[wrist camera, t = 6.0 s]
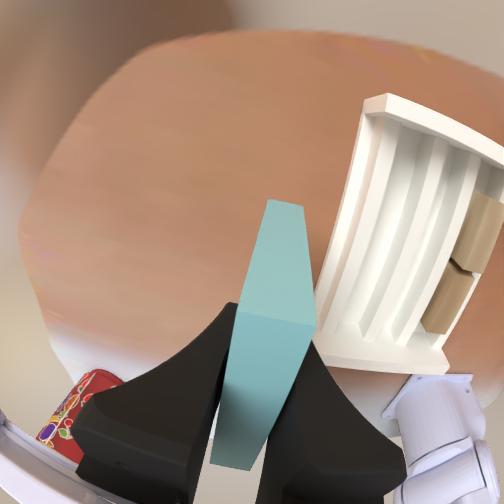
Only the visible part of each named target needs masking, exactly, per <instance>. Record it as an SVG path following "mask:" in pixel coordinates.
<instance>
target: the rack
mask: <svg viewBox="0 0 504 504" xmlns="http://www.w3.org/2000/svg"><path fill="white" fill-rule="evenodd" d="M473 189H476V190H478V191H480V192H482V193H484V194H486V195H488V196H490V197H492V198H494V199H496V200H498V201H500V202H501V203H503V204H504V148H503V147H502V146H500V145H499V144H497V143H495V142H494V141H492V140H490V139H488V138H487V137H485V136H483V135H481V134H480V133H478V132H476V131H474V130H472V129H470V128H468V127H466V126H465V125H463V124H461V123H459V122H457V121H455V120H453V119H450V118H448V117H446V116H444V115H442V114H440V113H438V112H435V111H433V110H431V109H428V108H426V107H424V106H421V105H419V104H417V103H414V102H412V101H409V100H406V99H404V98H401V97H398V96H396V95H393V94H390V93H386V94H382V95H379V96H375V97H372V98H368V99H365V100H364V102H363V107H362V113H361V118H360V122H359V127H358V132H357V137H356V141H355V146H354V150H353V154H352V159H351V163H350V167H349V171H348V175H347V179H346V183H345V187H344V191H343V195H342V199H341V203H340V207H339V210H338V214H337V218H336V221H335V225H334V228H333V232H332V236H331V239H330V242H329V246H328V249H327V253H326V256H325V259H324V263H323V266H322V269H321V272H320V275H319V279H318V282H317V285H316V288H315V291H314V302H315V313H316V324H317V327H316V329H315V332H314V334H313V337H312V341H313V343H314V345H315V347H316V349H317V351H318V353H319V355H320V357H321V359H322V361H323V363H324V364H325V366H333V367H341V368H349V369H358V370H368V371H378V372H390V373H405V374H424V375H444V374H445V373H446V371H447V370H448V369H449V367H450V366H449V363H448V361H447V359H446V357H445V355H444V353H443V351H442V349H441V347H442V346H443V344H444V342H445V341H446V339H447V338H448V336H449V334H450V333H451V331H452V329H453V328H454V326H455V324H456V322H457V321H458V319H459V317H460V315H461V314H462V312H463V310H464V308H465V306H466V304H467V302H468V300H469V299H470V297H471V295H472V293H473V291H474V289H475V287H476V284H477V282H478V280H479V278H480V276H481V274H479V273H475V272H471V271H469V272H470V273H471V274H472V275H473V277H474V278H475V280H474V282H473V284H472V287H471V289H470V291H469V293H468V295H467V297H466V299H465V301H464V302H463V304H462V306H461V308H460V310H459V312H458V314H457V315H456V317H455V319H454V321H453V323H452V324H451V326H450V328H449V329H448V331H447V333H446V334H445V335H443V334H434V333H426V331H425V329H424V327H423V325H422V323H421V322H420V319H421V317H422V315H423V313H424V311H425V309H426V307H427V305H428V303H429V301H430V299H431V297H432V295H433V293H434V291H435V289H436V287H437V285H438V283H439V280H440V278H441V276H442V274H443V272H444V269H445V267H446V265H447V262H448V260H449V258H452V257H451V256H450V255H451V253H452V250H453V248H454V245H455V242H456V240H457V237H458V235H459V232H460V229H461V226H462V223H463V221H464V218H465V215H466V212H467V209H468V205H469V202H470V199H471V196H472V192H473Z"/></svg>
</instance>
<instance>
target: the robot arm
mask: <svg viewBox="0 0 504 504" xmlns="http://www.w3.org/2000/svg"><path fill="white" fill-rule="evenodd" d="M237 308H238V304H236V303H232V302H229V303H227V304H226V305H225V307H224V308H223V310H222V311H221V312H220V313H219V315H218V316H217V317H216V318H215V319H214V320H213V322H212V323H211V324H210V325H209V326H208V327H207V328H206V329H205V330H204V331H203V332H202V333H201V334H200V335H199V336H197V337H196V338H195V339H194V340H193V341H192V342H191V343H190V344H188V345H187V346H186V347H185V348H183V349H182V350H181V351H180V352H178V353H177V354H176V355H174V356H173V357H171V358H170V359H168V360H167V361H165V362H164V363H162V364H160V365H159V366H157V367H156V368H154V369H152V370H150V371H148V372H147V373H145V374H143V375H140V376H138V377H136V378H134V379H132V380H130V381H128V382H126V383H123V384H121V385H118V386H115V387H112V388H110V389H107V390H104V391H101V392H98V393H94V394H93V395H92V396H91V397H90V398H89V399H88V401H87V402H86V403H85V404H84V405H83V407H82V408H81V410H80V411H79V413H78V415H77V416H76V418H75V420H74V421H73V423H72V425H71V426H70V432H71V435H72V437H73V439H74V440H75V442H76V443H77V444H78V446H79V447H80V449H81V450H82V451H83V453H84V455H83V457H82V459H81V461H80V463H79V464H77V463H75V462H73V461H71V460H69V459H67V458H66V457H64V456H62V455H60V454H59V453H57V452H55V451H54V450H52V449H50V448H49V447H47V446H45V445H44V444H42V443H41V442H39V441H38V440H36V439H35V438H33V437H31V436H30V435H29V434H27V433H26V432H24V431H23V430H21V429H20V428H19V427H17V426H16V425H14V424H13V423H12V422H11V421H9V420H8V419H7V418H6V416H5V415H4V414H3V412H2V411H1V409H0V487H2V488H3V489H4V490H5V491H6V492H7V493H8V494H10V495H11V496H12V497H13V498H15V499H16V500H17V501H18V502H19V503H21V504H112V503H111V502H114V503H116V504H193V501H194V496H195V492H196V488H197V484H198V480H199V476H200V472H201V468H202V464H203V460H204V456H205V451H206V448H207V444H208V440H209V436H210V432H211V428H212V424H213V420H214V417H215V414H216V410H217V408H218V405H219V402H220V399H221V395H222V389H223V384H224V378H225V373H226V367H227V362H228V356H229V350H230V345H231V339H232V334H233V328H234V323H235V317H236V312H237ZM472 378H473V375H472V374H444V375H424V374H412V375H411V377H410V378H409V379H408V381H407V382H406V384H405V385H404V386H403V388H402V389H401V390H400V392H399V393H398V394H397V396H396V397H395V398H394V399H393V401H392V402H391V403H390V405H389V406H388V407H387V408H386V409H385V411H384V412H383V413H382V414H381V417H382V418H383V419H398V423H399V428H400V432H401V437H402V442H403V447H404V452H405V458H406V463H407V468H406V463H405V458H404V454H403V451H402V449H401V448H400V447H399V446H397V445H396V444H395V443H393V442H392V441H391V440H389V439H388V438H387V437H385V436H384V435H383V434H382V433H380V432H379V431H378V430H377V429H376V428H375V427H374V426H373V425H372V424H371V423H370V422H368V421H367V420H366V419H365V418H364V417H363V416H362V414H361V413H360V412H359V411H358V410H357V409H356V408H355V407H354V406H353V404H352V403H351V402H350V401H349V400H348V399H347V397H346V396H345V395H344V394H343V392H342V391H341V389H340V388H339V387H338V385H337V384H336V382H335V381H334V379H333V378H332V376H331V374H330V373H329V371H328V369H327V368H326V366H325V364H324V363H323V361H322V359H321V357H320V355H319V353H318V351H317V349H316V347H315V345H314V343H313V341H312V339H311V342H310V344H309V347H308V349H307V352H306V354H305V357H304V359H303V361H302V364H301V366H300V368H299V371H298V373H297V375H296V378H295V380H294V382H293V384H292V387H291V389H290V391H289V393H288V396H287V398H286V400H285V402H284V404H283V406H282V408H281V411H280V413H279V415H278V417H277V419H276V421H275V423H274V425H273V427H272V429H271V431H270V433H269V435H268V439H267V446H266V452H265V458H264V464H263V469H262V474H261V479H260V485H259V489H258V494H257V498H256V502H255V504H384V497H383V496H384V495H386V494H387V493H389V492H390V491H392V490H394V493H393V504H498V503H499V498H500V496H501V493H500V489H499V485H498V484H499V480H498V476H497V472H496V469H495V465H494V462H493V459H492V456H491V453H490V450H489V447H488V445H487V442H486V441H483V440H482V439H483V437H484V433H485V428H486V424H485V423H486V422H485V417H484V414H483V412H482V409H481V407H480V405H479V402H478V400H477V398H476V395H475V393H474V391H473V389H472V387H471V384H470V381H471V380H472ZM99 496H100V497H99ZM101 497H102V498H101ZM103 498H105V499H107V500H109V501H111V502H109V501H107V500H105V499H103Z"/></svg>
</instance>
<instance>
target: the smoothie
mask: <svg viewBox="0 0 504 504" xmlns="http://www.w3.org/2000/svg"><path fill="white" fill-rule="evenodd" d="M121 384H123V382H122V381H120V380H119V379H118V378H117V377H116V376H114V375H113V374H111V373H109V372H107V371H104V370H101V369H95V370H92V371H91V372H89V373H85V374H84V376H83V377H82V378H81V379H80V381H79V382H78V383H77V384H76V386H75V387H74V388H73V389H72V391H71V392H70V393H69V395H68V396H67V397H66V399H65V400H64V401H63V402H62V404H61V405H60V406H59V408H58V409H57V410H56V411H55V413H54V414H53V416H52V417H51V418H50V420H49V421H48V422H47V423H46V425H45V426H44V428H43V429H42V430H41V432H40V433H39V434H38V436H37V437H36V440H38V441H39V442H41V443H42V444H44V445H45V446H47V447H49V448H50V449H52V450H54V451H55V452H57V453H59V454H60V455H62V456H64V457H66V458H67V459H69V460H71V461H73V462H75V463H77V464H79V463H80V461H81V459H82V457H83V455H84V453H83V451H82V450H81V449H80V447H79V446H78V444H77V443H76V442H75V440H74V439H73V437H72V435H71V432H70V426H71V425H72V423H73V421H74V420H75V418H76V416H77V415H78V413H79V411H80V410H81V408H82V407H83V405H84V404H85V403H86V402H87V401H88V399H89V398H90V397H91V396H92V395H93V394H94V393H98V392H101V391H104V390H107V389H110V388H112V387H115V386H118V385H121Z"/></svg>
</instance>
